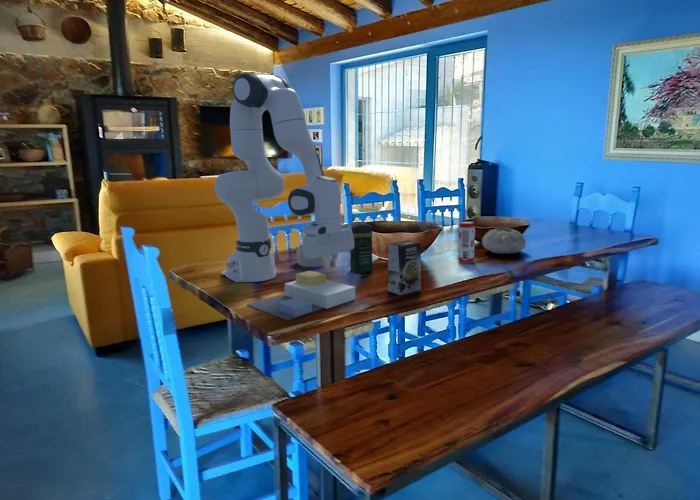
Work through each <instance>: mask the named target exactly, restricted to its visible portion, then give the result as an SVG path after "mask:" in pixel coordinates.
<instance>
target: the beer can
mask: <svg viewBox="0 0 700 500" xmlns="http://www.w3.org/2000/svg"><path fill="white" fill-rule="evenodd" d="M457 238H458V240H457V241H458V245H457V251H458V252H457V259H458V262H459V263H460V262H461V264H472V263H473V262H474V261H475V245H476V244H475V243H476V242H475V241H476V226H475V224H474V221H469V220H467V221H466V220H465V221H464V220H463V221H460V223H459V225H458V237H457Z"/></svg>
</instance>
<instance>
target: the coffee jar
mask: <svg viewBox="0 0 700 500" xmlns="http://www.w3.org/2000/svg"><path fill="white" fill-rule="evenodd" d="M350 225H351V227H352V232H353V237H354V248H353V249H352V250H349V254H350V258H349V261H350V262H349V263H350V269H351V270H352V272H354V273H361V274H367V273H369V272H372V271H373V267H374V265H373V227H372V225H371V224H368V223H366V222H364V221H353V222H351V223H350Z"/></svg>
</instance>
